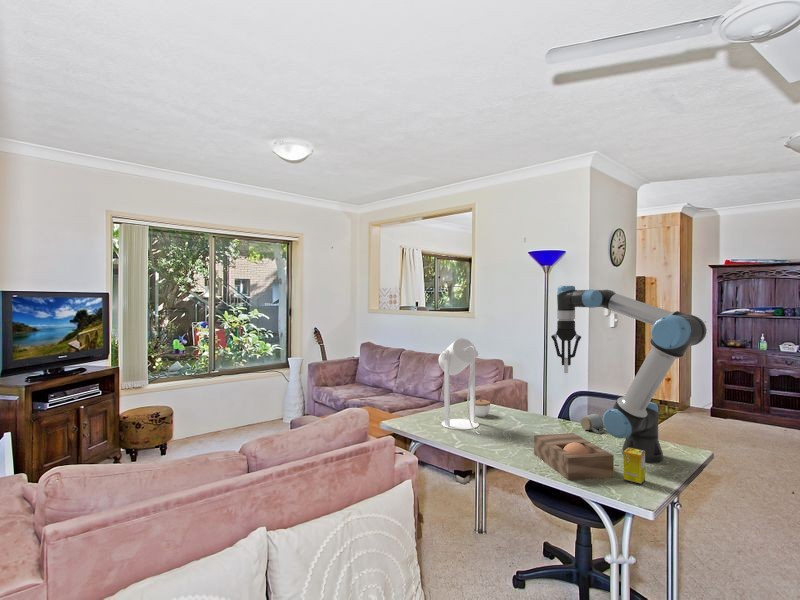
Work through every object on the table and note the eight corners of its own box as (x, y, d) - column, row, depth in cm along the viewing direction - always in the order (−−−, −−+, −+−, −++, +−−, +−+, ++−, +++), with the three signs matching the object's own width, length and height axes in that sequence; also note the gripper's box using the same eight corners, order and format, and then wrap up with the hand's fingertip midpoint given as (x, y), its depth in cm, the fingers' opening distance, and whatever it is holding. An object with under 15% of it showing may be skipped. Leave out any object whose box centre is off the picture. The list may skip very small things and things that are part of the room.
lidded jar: (469, 413, 265) (469, 396, 265) (487, 412, 266) (487, 396, 266) (473, 418, 255) (473, 401, 255) (492, 417, 255) (492, 400, 255)
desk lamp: (462, 416, 258) (462, 335, 258) (499, 431, 230) (499, 340, 230) (430, 421, 249) (429, 337, 248) (465, 437, 220) (464, 342, 220)
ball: (596, 446, 178) (592, 470, 180) (574, 435, 186) (570, 458, 188) (581, 453, 172) (577, 477, 174) (558, 441, 180) (555, 464, 182)
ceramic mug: (579, 429, 233) (579, 413, 233) (591, 426, 237) (591, 412, 237) (596, 435, 224) (596, 419, 224) (608, 432, 227) (608, 417, 227)
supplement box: (627, 476, 172) (627, 447, 172) (645, 480, 168) (645, 450, 168) (622, 481, 168) (622, 451, 168) (641, 485, 164) (641, 454, 164)
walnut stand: (534, 454, 197) (534, 435, 197) (573, 451, 199) (573, 433, 199) (568, 480, 169) (568, 458, 169) (613, 476, 172) (613, 455, 172)
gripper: (581, 319, 210) (581, 372, 210) (551, 319, 215) (551, 370, 215) (581, 320, 203) (581, 374, 203) (550, 320, 208) (550, 373, 208)
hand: (566, 372), depth 209 cm, fingers closed
